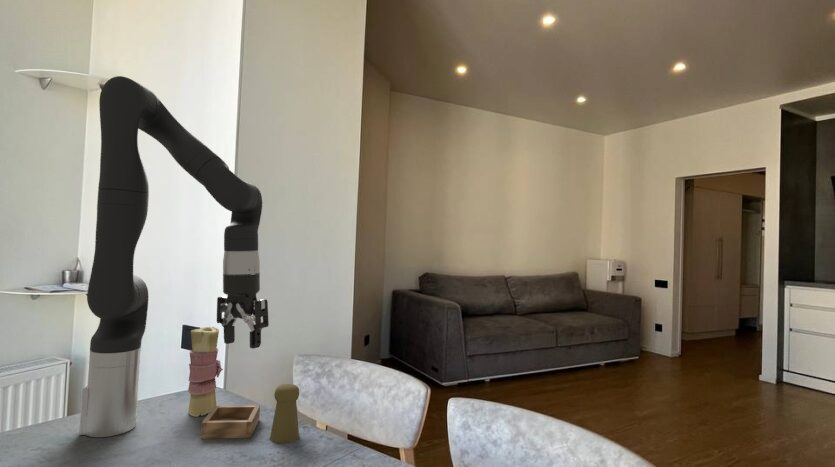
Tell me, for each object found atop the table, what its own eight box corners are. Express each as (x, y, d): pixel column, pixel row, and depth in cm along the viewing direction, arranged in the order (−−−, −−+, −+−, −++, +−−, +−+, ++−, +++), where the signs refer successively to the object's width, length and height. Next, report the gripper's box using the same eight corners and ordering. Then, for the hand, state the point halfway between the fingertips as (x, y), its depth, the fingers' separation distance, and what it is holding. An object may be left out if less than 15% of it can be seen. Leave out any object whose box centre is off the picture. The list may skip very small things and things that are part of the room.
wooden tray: (200, 438, 94) (201, 422, 94) (214, 420, 104) (215, 405, 104) (250, 437, 95) (251, 421, 95) (259, 419, 105) (260, 405, 105)
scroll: (226, 407, 112) (231, 326, 113) (209, 418, 105) (215, 332, 105) (197, 404, 113) (202, 325, 114) (179, 415, 105) (184, 330, 106)
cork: (282, 445, 92) (285, 391, 93) (263, 437, 96) (266, 385, 96) (304, 436, 97) (307, 385, 98) (286, 428, 101) (288, 379, 101)
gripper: (205, 271, 99) (206, 345, 99) (249, 274, 92) (249, 353, 91) (235, 269, 105) (235, 338, 105) (277, 271, 98) (278, 345, 98)
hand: (242, 345), depth 98 cm, fingers open, 8 cm apart
